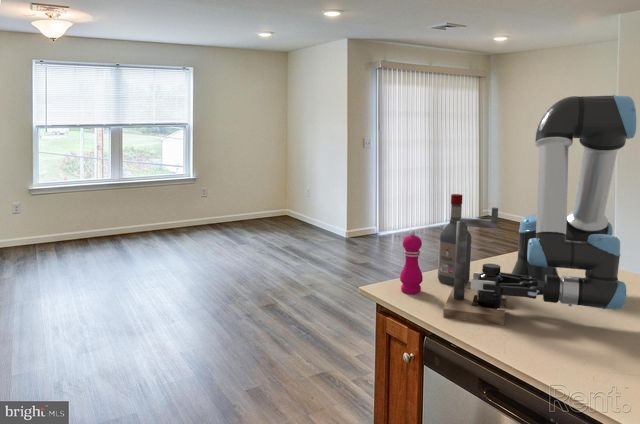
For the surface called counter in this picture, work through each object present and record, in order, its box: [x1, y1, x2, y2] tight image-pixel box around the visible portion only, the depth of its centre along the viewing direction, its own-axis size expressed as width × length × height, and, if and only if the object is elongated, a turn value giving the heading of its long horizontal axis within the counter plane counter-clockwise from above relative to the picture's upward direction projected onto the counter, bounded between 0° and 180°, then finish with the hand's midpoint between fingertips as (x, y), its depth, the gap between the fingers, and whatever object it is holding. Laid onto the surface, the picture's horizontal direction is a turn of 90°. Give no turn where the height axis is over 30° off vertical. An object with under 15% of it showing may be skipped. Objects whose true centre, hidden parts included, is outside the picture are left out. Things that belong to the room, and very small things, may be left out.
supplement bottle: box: [476, 263, 503, 309], centre depth 144 cm, size 7×7×12 cm
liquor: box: [437, 193, 472, 287], centre depth 170 cm, size 9×9×30 cm
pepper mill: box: [399, 230, 424, 295], centre depth 161 cm, size 7×7×20 cm
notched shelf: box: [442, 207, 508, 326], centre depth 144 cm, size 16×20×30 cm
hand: (472, 280), depth 146 cm, fingers closed on supplement bottle, 7 cm apart
